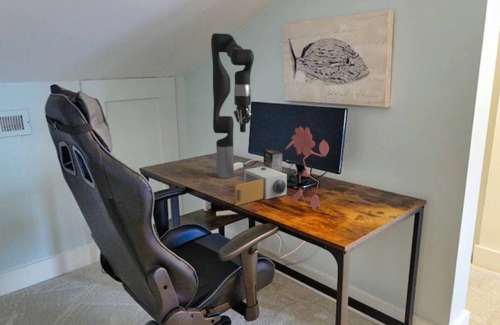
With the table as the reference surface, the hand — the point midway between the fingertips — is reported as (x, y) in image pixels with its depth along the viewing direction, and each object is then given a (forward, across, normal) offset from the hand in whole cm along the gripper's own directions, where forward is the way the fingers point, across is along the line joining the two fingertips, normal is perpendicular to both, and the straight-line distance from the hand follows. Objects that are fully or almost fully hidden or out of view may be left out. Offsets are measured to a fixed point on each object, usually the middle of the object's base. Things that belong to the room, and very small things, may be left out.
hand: (242, 132), depth 179 cm
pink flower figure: (+29, +33, +8) cm, 45 cm away
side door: (+29, +16, -6) cm, 33 cm away
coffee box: (+29, -6, +22) cm, 37 cm away
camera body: (+29, +7, +8) cm, 31 cm away
